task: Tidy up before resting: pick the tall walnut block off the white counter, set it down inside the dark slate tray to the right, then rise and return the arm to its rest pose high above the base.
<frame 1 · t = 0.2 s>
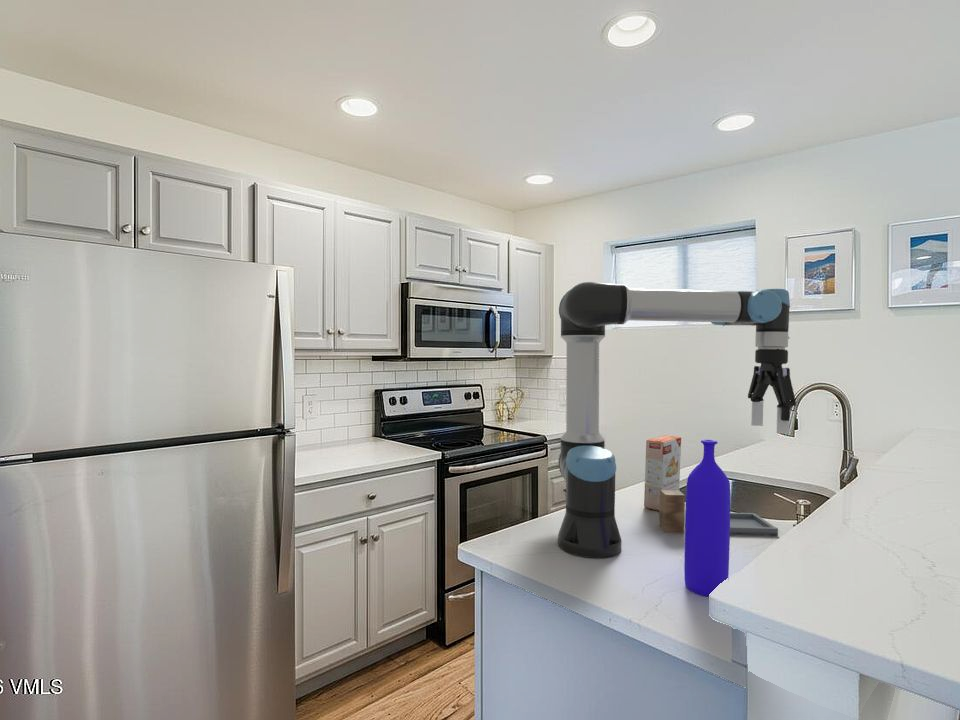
hand: (769, 429, 139), 27 cm above the countertop, fingers open, 13 cm apart
cracker box: (662, 506, 163), on the countertop
bottle: (705, 589, 106), on the countertop
slate tray: (741, 526, 144), on the countertop
walnut block: (671, 529, 141), on the countertop
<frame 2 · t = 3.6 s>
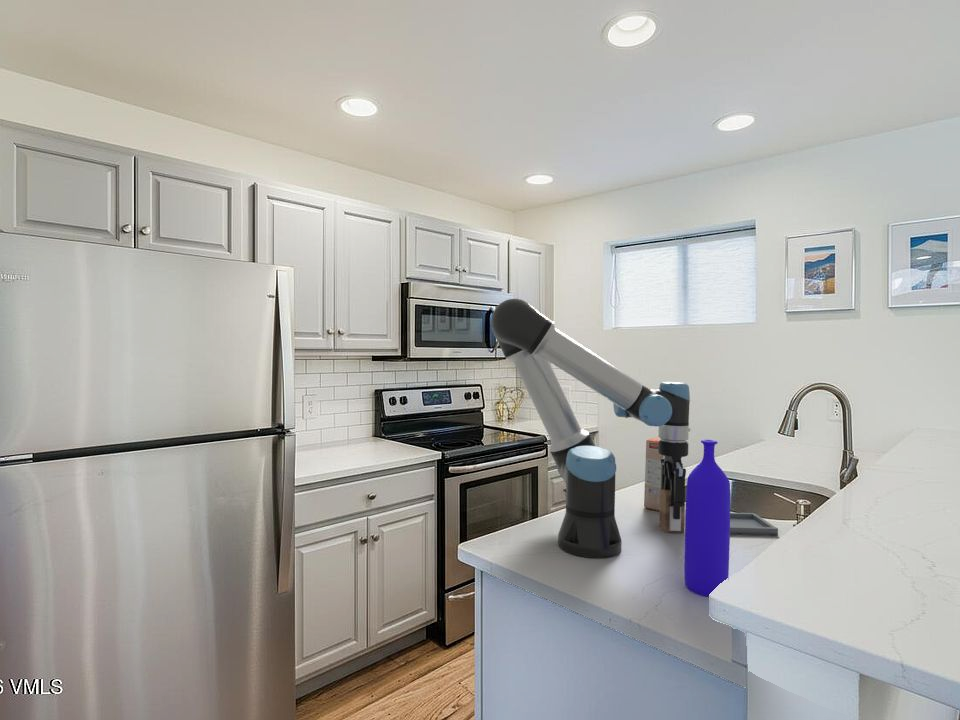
hand: (671, 526, 141), 1 cm above the countertop, fingers closed on walnut block, 5 cm apart
walnut block: (671, 529, 141), on the countertop, touching gripper
everything else where it was.
when the fingers open (3 cm above the countertop, at t = 9.0 s): walnut block drops 2 cm, resting on slate tray.
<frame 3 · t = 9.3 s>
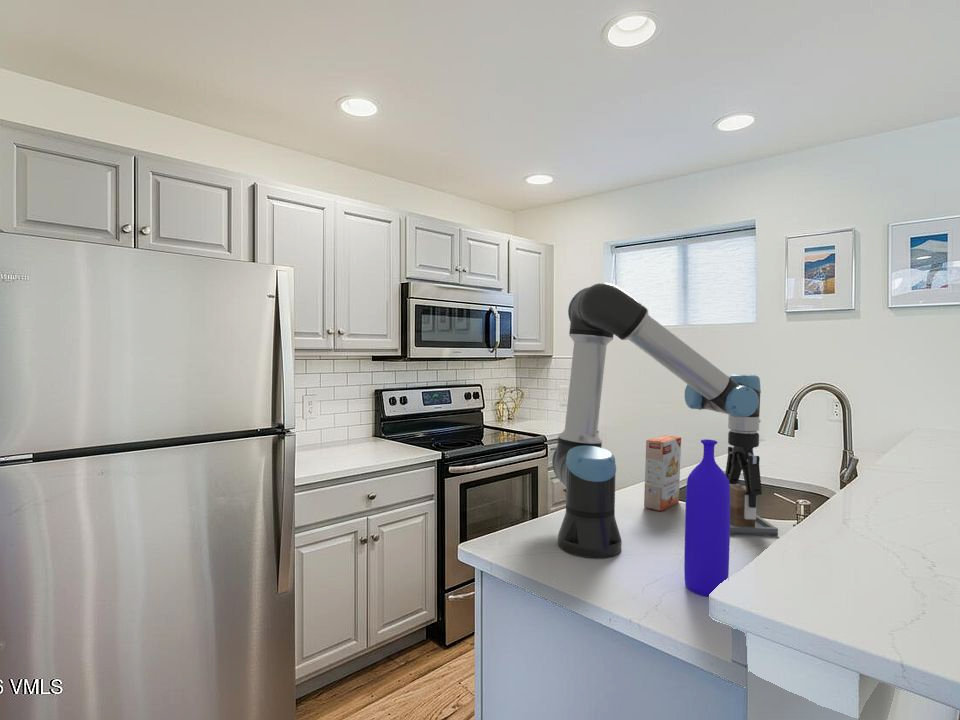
hand: (741, 512, 144), 4 cm above the countertop, fingers open, 9 cm apart
walnut block: (741, 524, 144), point 1 cm above the countertop, touching slate tray
everything else where it was.
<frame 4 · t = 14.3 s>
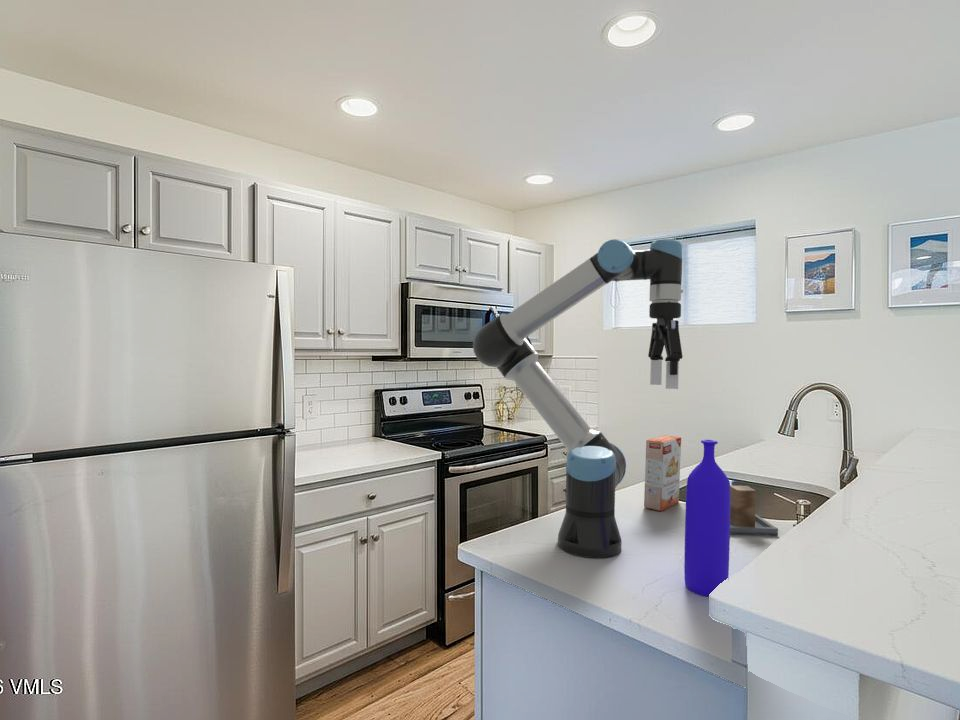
hand: (663, 386, 133), 39 cm above the countertop, fingers open, 13 cm apart
nothing on the countertop moved.
at the end: walnut block inside the target area on the slate tray (0.0 cm from its centre), point 0.6 cm above the slate tray's base; walnut block tilted 0°; the gripper is holding nothing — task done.
